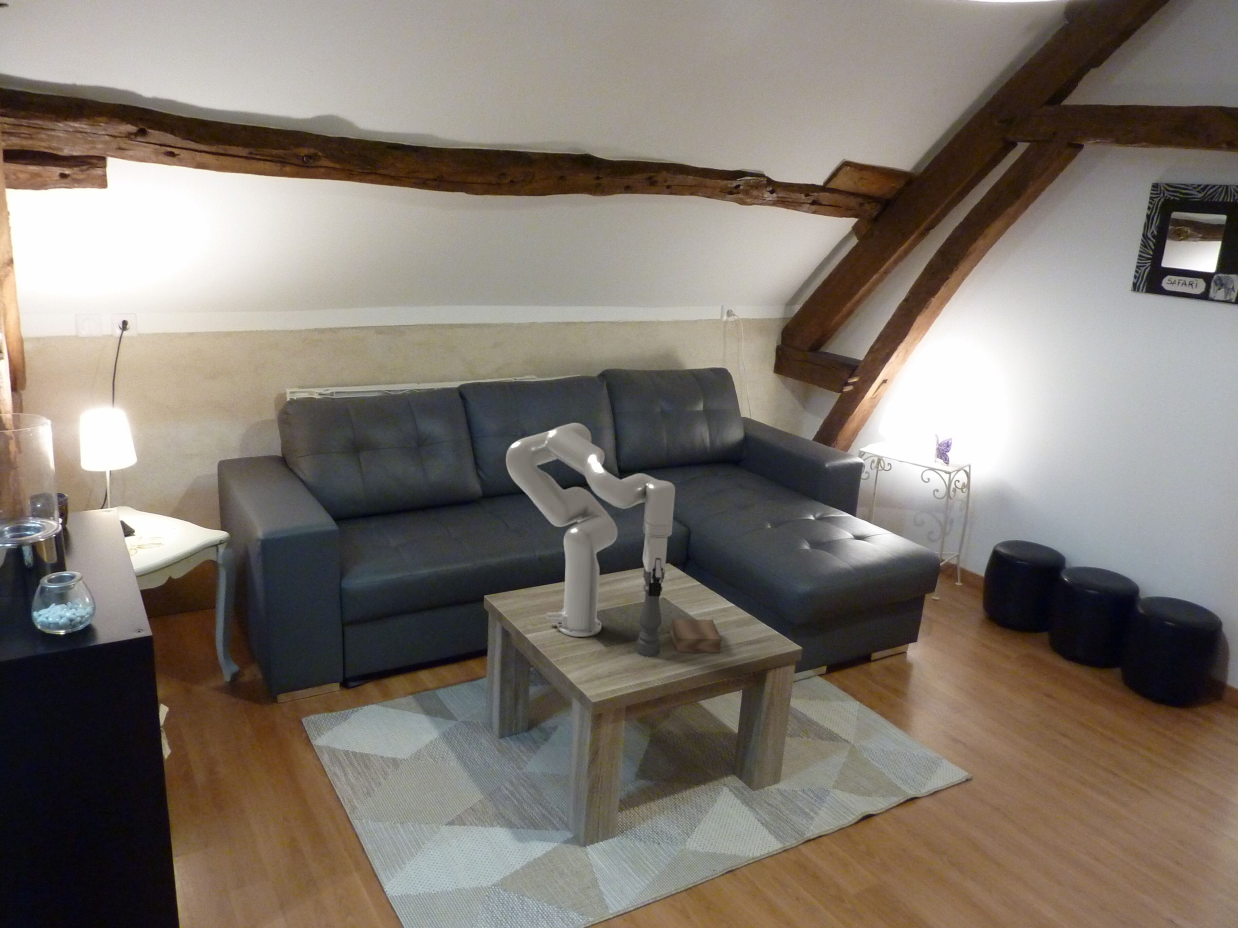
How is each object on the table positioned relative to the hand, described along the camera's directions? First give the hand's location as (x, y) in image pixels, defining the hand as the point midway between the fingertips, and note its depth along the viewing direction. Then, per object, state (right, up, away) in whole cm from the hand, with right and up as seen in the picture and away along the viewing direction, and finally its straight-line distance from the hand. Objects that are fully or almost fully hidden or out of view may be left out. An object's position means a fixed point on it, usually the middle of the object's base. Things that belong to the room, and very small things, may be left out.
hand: (652, 590), depth 256 cm
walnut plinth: (+12, -16, +12) cm, 24 cm away
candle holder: (-1, -17, +5) cm, 18 cm away
